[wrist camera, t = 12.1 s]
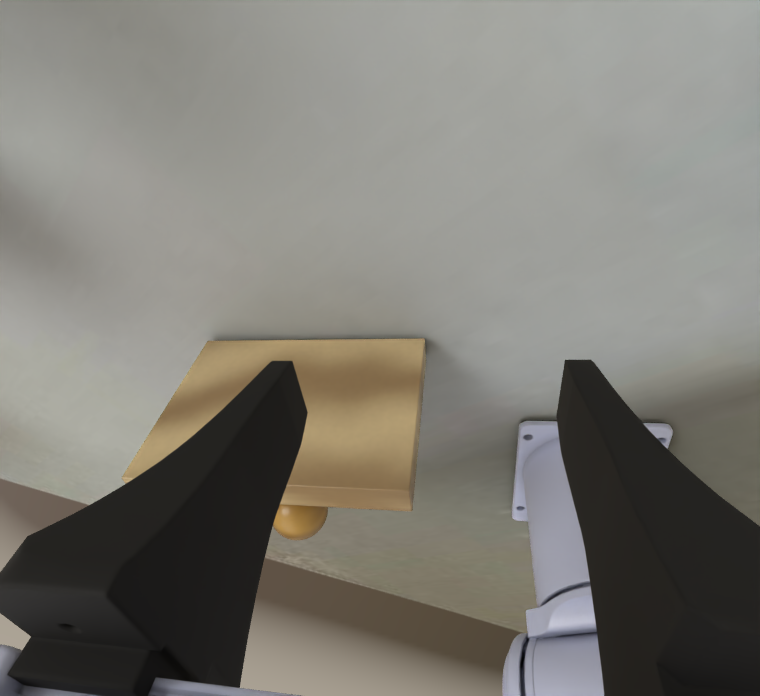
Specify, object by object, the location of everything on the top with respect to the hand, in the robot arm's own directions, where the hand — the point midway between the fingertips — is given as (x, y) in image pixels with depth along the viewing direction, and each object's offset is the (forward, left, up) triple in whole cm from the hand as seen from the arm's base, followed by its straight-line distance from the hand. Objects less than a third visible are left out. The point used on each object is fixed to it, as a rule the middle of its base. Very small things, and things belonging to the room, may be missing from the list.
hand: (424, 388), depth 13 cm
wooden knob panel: (-6, +7, -6) cm, 11 cm away
